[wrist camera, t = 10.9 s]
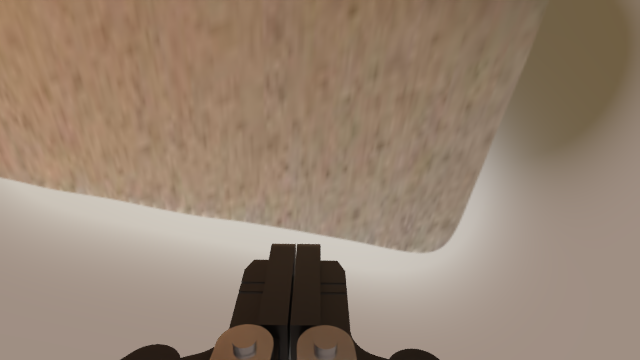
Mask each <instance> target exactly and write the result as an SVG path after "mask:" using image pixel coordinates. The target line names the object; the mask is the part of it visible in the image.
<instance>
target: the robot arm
mask: <svg viewBox="0 0 640 360" xmlns="http://www.w3.org/2000/svg"><path fill="white" fill-rule="evenodd" d="M121 360H439V359H438V358H436V357H435V356H434V355H432V354H430V353H428V352H426V351H423V350H419V349H405V350H401V351H398V352H396V353H395V354H393V355H392V356H391V357H390V359H386V358H382V357H378V356H375V355H372V354H370V353H368V352H366V351H364V350H363V349H361V348H360V347H359V346H358V345H357V344H356V343H355V341H354V340H353V338H352V336H351V332H350V324H349V311H348V300H347V288H346V278H345V271H344V270H343V268H342V267H341V265H340V264H339V263H338V261H320V244H297V253H296V245H295V244H272V246H271V251H270V257H269V260H254V261H253V262H252V263H251V264H250V265H249V266H248V267H247V268H246V269H245V271H244V274H243V278H242V284H241V286H240V290H239V294H238V297H237V301H236V305H235V309H234V312H233V316H232V320H231V324H230V328H229V329H228V330H227V331H225V332H224V333H223V334H222V335H221V336H220V337H219V338H218V341H217V342H216V345H215V347H213V348H212V349H210V350H207V351H205V352H202V353H199V354H195V355H191V356H187V357H183V358H180V355H179V353H178V352H177V351H176V350H175V349H174V348H172V347H170V346H167V345H160V344H156V345H149V346H145V347H142V348H140V349H137V350H135V351H134V352H132V353H130V354H129V355H127V356H126V357H124V358H123V359H121Z"/></svg>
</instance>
